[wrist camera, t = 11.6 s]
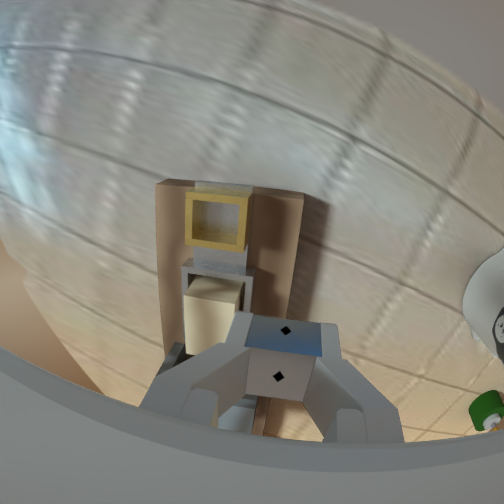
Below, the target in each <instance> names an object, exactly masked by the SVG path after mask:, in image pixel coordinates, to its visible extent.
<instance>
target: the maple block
mask: <svg viewBox="0 0 504 504" xmlns="http://www.w3.org/2000/svg"><path fill="white" fill-rule="evenodd" d="M243 287H244V282H242V281H236V280H229V279H223V278H216V277H210V276H203V275H197V276H196V277H195V279H194V280H193V282H192V283H191V285H190V286H189V288H188V289H187V291H186V292H185V294H184V322H185V343H186V353H187V354H191V355H197V354H199V353H201V352H203V351H205V350H206V349H208V348H210V347H212V346H214V345H215V344H217V343H219V342H221V343H225V340H226V337H227V334H228V332H229V329H230V326H231V323H232V320H233V318H234V315H235V312H236V311H237V310H238V311H242V299H243Z"/></svg>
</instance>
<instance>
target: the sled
mask: <svg viewBox="0 0 504 504" xmlns="http://www.w3.org/2000/svg"><path fill="white" fill-rule="evenodd" d="M253 194H254V186H250V185H241V184H231V183H221V182H210V181H199V180H198V181H196V182H195V187H193V188H191V189H189V190H188V191H186V203H185V245H190V246H193V258H188V259H187V260H186V261H185V262H184V263H183V265H182V266H181V275H182V309H183V332H184V341H185V322H184V294H185V292H186V291H187V289H188V288H189V286H190V285H191V283H192V282H193V280H194V274H197V275H203V276H210V277H216V278H223V279H229V280H236V281H242V282H246V286H245V298H244V309H243V311H244V312H250V313H252V304H253V294H254V284H255V274H256V268H254V267H247V262H248V251H249V240H250V228H251V217H252V206H253Z"/></svg>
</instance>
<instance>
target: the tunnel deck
mask: <svg viewBox="0 0 504 504" xmlns="http://www.w3.org/2000/svg"><path fill="white" fill-rule="evenodd" d="M195 182H196V181H192V180H179V179H167V180H164V181H162V182H160V183H157V184H156V246H157V268H158V285H159V299H160V312H161V323H162V333H163V343H164V352H165V360H164V362H163V364H162V366H161V367H160V369H159V371H158V373H157V375H159V374H161V373H163V372H165V371H167V370H169V369H171V368H173V367H175V366H177V365H178V364H180V363H182V362H184V361H186V360H188V359H190V358H192V357H193V356H195V355H191V354H187V353H186V343H185V341H184V332H183V309H182V275H181V266H182V265H183V263H184V262H185V261H186V260H187V259H188V258H193V246H190V245H185V203H186V191H188V190H189V189H191V188H193V187H195ZM303 203H304V193H301V192H294V191H286V190H279V189H271V188H262V187H254V194H253V206H252V217H251V228H250V240H249V251H248V262H247V267H254V268H256V274H255V284H254V294H253V304H252V313H253V314H254V313H256V314H262V315H268V316H274V317H280V318H286V313H287V307H288V301H289V295H290V289H291V283H292V277H293V271H294V265H295V258H296V252H297V245H298V238H299V232H300V225H301V218H302V210H303ZM196 276H197V274H194V279H195V277H196ZM245 286H246V282H244V287H243V299H242V311H243V309H244V298H245ZM157 375H156V376H157ZM156 376H155V377H156ZM154 379H155V378H154ZM153 381H154V380H153ZM269 402H270V397H266V396H258V395H250V394H245V396H243V397H242V398H241V399H240V400H239V401H238V402H237V403H236V404H234V405H233V406H232V407H231V408H230V409H229V410H227V411H226V412H225V413H224V414H223V415H222V416H220V417H219V418H218V428H220V429H225V430H231V431H236V432H242V433H248V434H254V435H261V436H262V435H263V430H264V426H265V421H266V416H267V412H268V407H269Z"/></svg>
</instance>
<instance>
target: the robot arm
mask: <svg viewBox="0 0 504 504" xmlns="http://www.w3.org/2000/svg"><path fill="white" fill-rule="evenodd" d="M463 314H464V317H465V319H466V321H467V322H468V324H469V325H470V326H471V333H472V337H473V338H474V340H475V341H482V343H483V344H484V345H485V346H486V348H487V349H488V350H489V351H490V352H491V354H492V355H493V356H494V357H495V358H500V361H501V362H502V364H503V366H504V248H503V249H502V250H501V251H500V252H499V253H497V254H495V255H493V256H492V257H490V258H489V259H487V260H486V261H485V262H484V263H483V264H482V265H481V266H480V267H479V268H478V269H477V271H476V272H475V273H474V275H473V276H472V278H471V280H470V281H469V283H468V285H467V288H466V291H465V294H464V298H463ZM245 394H250V395H258V396H266V397H274V398H280V399H287V400H294V401H301V402H303V404H304V406H305V408H306V409H307V411H308V413H309V414H310V416H311V417H312V419H313V421H314V422H315V424H316V425H317V427H318V429H319V430H320V432H321V433H322V435H323V437H324V439H323V441H322V442H315V441H303V440H292V439H283V438H275V437H268V436H261V435H254V434H248V433H242V432H236V431H231V430H225V429H220V428H218V418H219V417H220V416H222V415H223V414H224V413H225V412H226V411H227V410H229V409H230V408H231V407H232V406H233V405H234V404H236V403H237V402H238V401H239V400H240V399H241V398H242V397H243V396H245ZM0 504H504V429H502V430H497V431H492V432H487V433H482V434H476V435H470V436H464V437H457V438H449V439H441V440H431V441H420V442H405V441H404V436H403V431H402V427H401V422H400V417H399V413H398V409H397V408H396V407H395V406H394V405H393V404H392V403H391V402H390V401H389V400H388V399H387V398H386V397H385V396H383V395H382V394H381V393H380V392H379V391H378V390H377V389H376V388H375V387H374V386H373V385H372V384H371V383H370V382H369V381H368V380H367V379H366V378H365V377H364V376H363V375H362V374H361V373H360V372H359V371H358V370H357V369H356V368H355V367H354V366H353V365H352V364H351V363H349V362H348V361H347V360H345V359H342V356H341V348H340V341H339V334H338V327H337V325H336V324H331V323H317V322H308V321H299V320H290V319H286V318H280V317H274V316H268V315H262V314H256V313H254V314H253V313H250V312H244V311H238V310H237V311H236V312H235V315H234V318H233V320H232V323H231V326H230V329H229V332H228V334H227V337H226V340H225V343H221V342H219V343H217V344H215V345H214V346H212V347H210V348H208V349H206V350H205V351H203V352H201V353H199V354H197V355H195V356H193V357H192V358H190V359H188V360H186V361H184V362H182V363H180V364H178V365H177V366H175V367H173V368H171V369H169V370H167V371H165V372H163V373H161V374H159V375H157V376H156V377H155V379H154V381H153V382H152V384H151V386H150V388H149V390H148V391H147V393H146V395H145V397H144V399H143V400H142V402H141V404H140V406H139V407H137V406H133V405H130V404H127V403H125V402H122V401H119V400H116V399H113V398H110V397H108V396H105V395H102V394H100V393H97V392H95V391H92V390H89V389H87V388H85V387H82V386H80V385H77V384H75V383H73V382H70V381H68V380H66V379H64V378H61V377H59V376H57V375H55V374H53V373H51V372H49V371H47V370H44V369H42V368H40V367H38V366H36V365H34V364H32V363H31V362H28V361H27V360H24V359H23V358H21V357H19V356H17V355H16V354H14V353H12V352H10V351H8V350H7V349H5V348H3V347H1V346H0Z"/></svg>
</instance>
